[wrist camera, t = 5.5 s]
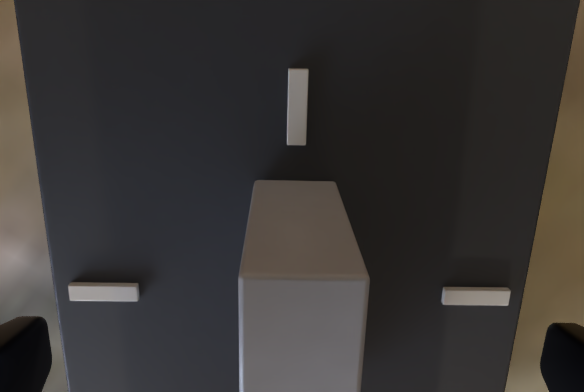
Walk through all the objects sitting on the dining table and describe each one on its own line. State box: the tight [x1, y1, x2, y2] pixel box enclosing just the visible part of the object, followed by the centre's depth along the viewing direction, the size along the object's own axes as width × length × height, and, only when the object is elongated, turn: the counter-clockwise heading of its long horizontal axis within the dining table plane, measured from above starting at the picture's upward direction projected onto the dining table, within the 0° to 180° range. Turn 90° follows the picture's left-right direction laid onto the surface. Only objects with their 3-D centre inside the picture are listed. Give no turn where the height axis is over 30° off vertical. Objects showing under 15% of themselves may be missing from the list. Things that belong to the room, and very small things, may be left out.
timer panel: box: [14, 0, 580, 392], centre depth 12 cm, size 12×10×3 cm
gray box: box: [238, 180, 370, 392], centre depth 9 cm, size 5×2×4 cm, turn 179°
